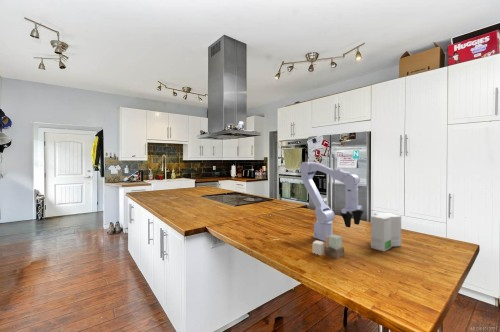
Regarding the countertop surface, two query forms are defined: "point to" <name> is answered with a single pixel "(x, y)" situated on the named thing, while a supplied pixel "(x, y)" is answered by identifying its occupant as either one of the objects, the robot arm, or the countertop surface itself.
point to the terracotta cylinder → (327, 240)
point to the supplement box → (394, 228)
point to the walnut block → (334, 252)
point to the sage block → (335, 241)
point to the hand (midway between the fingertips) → (352, 225)
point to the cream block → (318, 247)
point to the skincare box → (381, 232)
